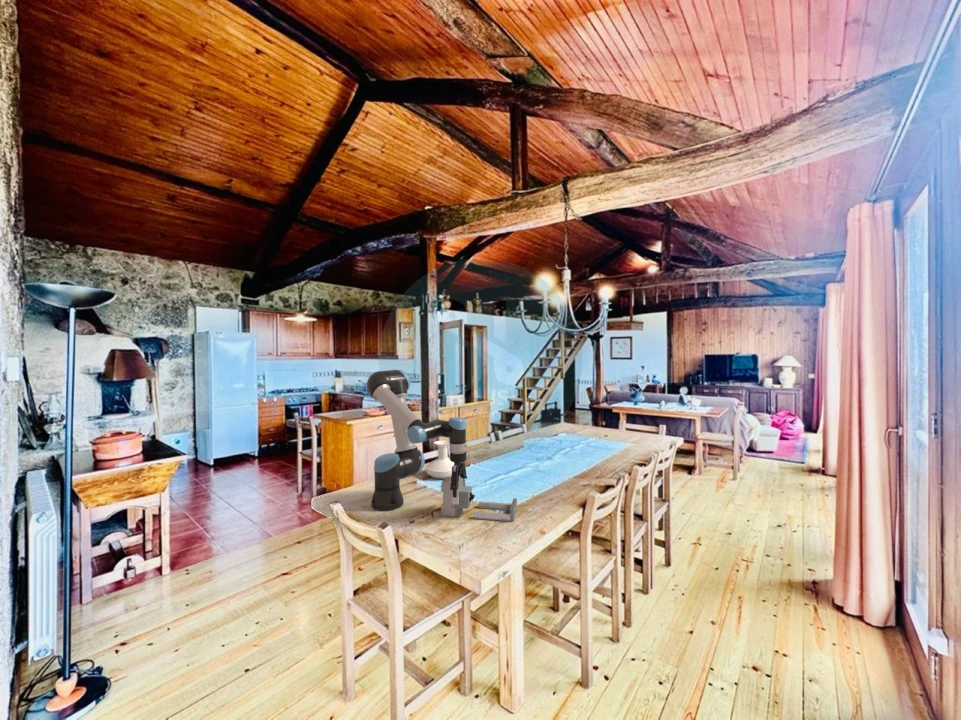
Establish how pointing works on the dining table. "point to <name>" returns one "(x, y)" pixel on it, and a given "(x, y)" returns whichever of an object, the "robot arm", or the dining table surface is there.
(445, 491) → the circuit breaker
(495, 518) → the channel
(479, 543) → the dining table surface
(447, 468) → the white vase
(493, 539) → the dining table surface
